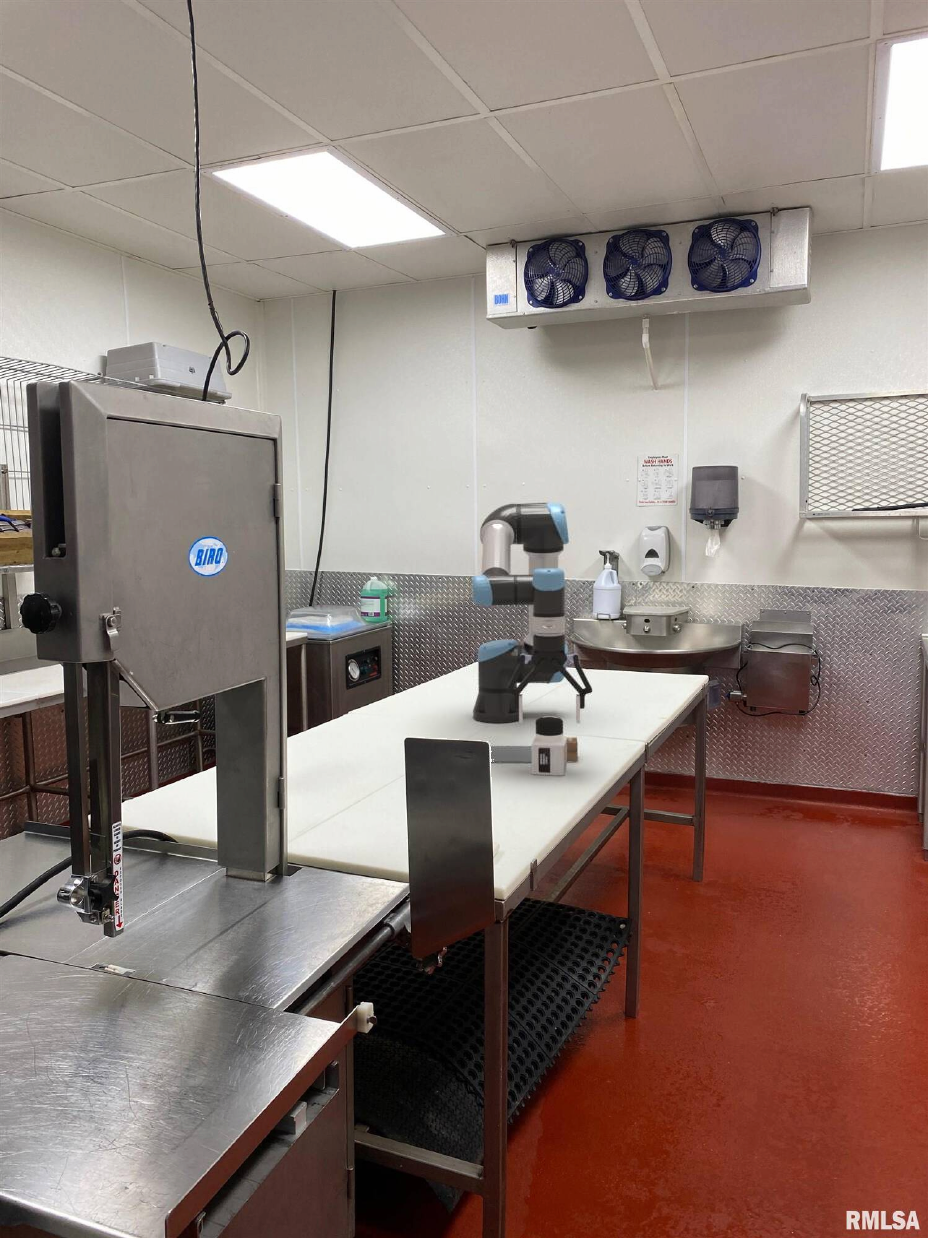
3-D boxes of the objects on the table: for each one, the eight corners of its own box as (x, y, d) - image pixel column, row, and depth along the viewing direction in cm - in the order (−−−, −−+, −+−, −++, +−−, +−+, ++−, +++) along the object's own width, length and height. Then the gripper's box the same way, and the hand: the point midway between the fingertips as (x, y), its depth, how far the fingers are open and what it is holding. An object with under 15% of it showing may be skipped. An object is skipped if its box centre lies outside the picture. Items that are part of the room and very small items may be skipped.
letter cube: (556, 756, 221) (556, 736, 220) (576, 756, 220) (576, 736, 220) (557, 762, 216) (557, 741, 215) (577, 762, 216) (577, 742, 215)
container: (564, 776, 204) (564, 722, 203) (531, 775, 206) (531, 721, 204) (567, 766, 212) (566, 714, 210) (535, 765, 213) (535, 713, 212)
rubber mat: (488, 747, 230) (488, 745, 230) (541, 747, 229) (541, 746, 229) (485, 762, 216) (484, 761, 216) (541, 763, 215) (541, 761, 215)
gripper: (495, 636, 202) (496, 725, 204) (603, 635, 200) (603, 725, 202) (496, 632, 209) (498, 718, 212) (601, 631, 207) (601, 718, 209)
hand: (549, 722), depth 207 cm, fingers open, 13 cm apart
